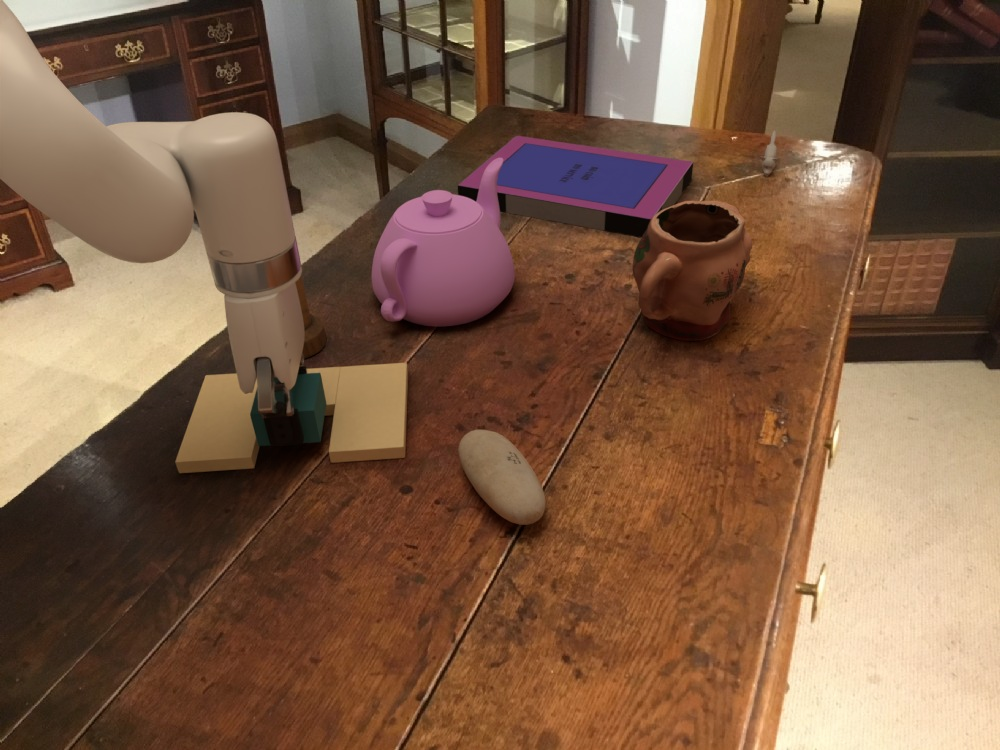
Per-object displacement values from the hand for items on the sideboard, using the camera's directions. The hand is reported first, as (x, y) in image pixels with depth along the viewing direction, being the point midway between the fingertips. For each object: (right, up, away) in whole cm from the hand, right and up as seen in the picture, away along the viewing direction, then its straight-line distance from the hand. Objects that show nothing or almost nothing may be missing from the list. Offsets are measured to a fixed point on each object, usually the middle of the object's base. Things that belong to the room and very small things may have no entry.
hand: (291, 419), depth 84 cm
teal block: (0, 0, 0) cm, 1 cm away
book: (+32, +32, +46) cm, 65 cm away
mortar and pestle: (-3, +8, +16) cm, 18 cm away
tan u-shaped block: (0, 0, +4) cm, 4 cm away
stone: (+21, -7, -5) cm, 23 cm away
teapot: (+14, +15, +24) cm, 32 cm away
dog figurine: (+63, +37, +51) cm, 89 cm away
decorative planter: (+42, +10, +16) cm, 46 cm away
